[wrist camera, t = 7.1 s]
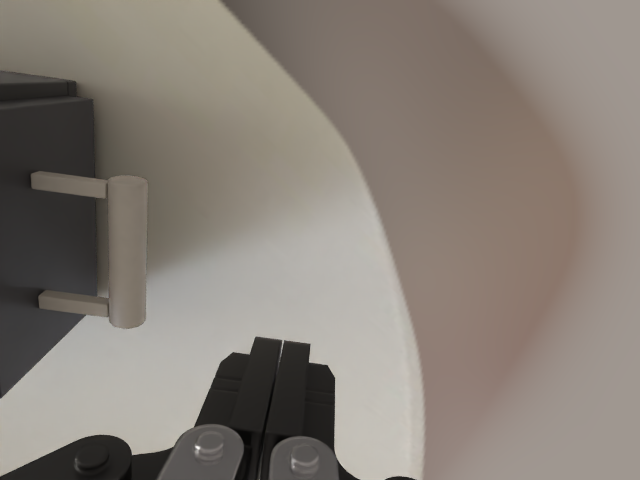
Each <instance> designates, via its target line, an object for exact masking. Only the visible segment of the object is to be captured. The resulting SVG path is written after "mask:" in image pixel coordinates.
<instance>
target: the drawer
mask: <svg viewBox="0 0 640 480" xmlns="http://www.w3.org/2000/svg"><path fill="white" fill-rule="evenodd" d="M95 197H96V198H104V199H106V198H108V260H109V298H104V297H97V262H96V213H95ZM147 207H148V182H147V180H146V179H144V178H141V177H137V176H127V175H122V176H114V177H110V178H109V179H108V180H103V179H95V164H94V115H93V99H89V98H82V97H75V96H56V97H44V98H32V99H20V100H8V101H0V398H2V397H3V396H4V395H5V394H6V393H7V392H8V391H9V390H10V389H11V388H12V387H13V386H14V385H15V384H16V383H17V382H18V381H19V380H20V379H21V378H22V377H23V376H24V375H25V374H27V373H28V372H29V371H30V370H31V369H32V368H33V367H34V366H35V365H36V364H37V363H38V362H39V361H40V360H41V359H42V358H43V357H44V356H45V355H46V354H47V353H48V352H49V351H50V350H51V349H52V348H53V347H54V346H55V345H56V344H57V343H58V342H59V341H60V340H61V339H62V338H63V337H64V336H65V335H66V334H67V333H68V332H69V331H70V330H71V329H72V328H73V327H74V326H75V325H76V324H77V323H78V322H79V321H80V320H81V319H83V318H84V317H85V316H86V315H93V316H101V317H108V316H109V322H110V323H111V325H112V326H114V327H117V328H122V329H129V328H135V327H138V326H140V325H142V324H143V323H144V321H145V319H146V268H147Z"/></svg>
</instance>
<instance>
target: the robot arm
mask: <svg viewBox="0 0 640 480" xmlns="http://www.w3.org/2000/svg"><path fill="white" fill-rule="evenodd" d="M281 348H282V340H278V339H270V338H263V337H255V340H254V343H253V346H252V349H251V352H250V355H249V354H242V353H235V352H233V353H232V354H230V355H229V356H228V357H227V358H225V359H224V360H223V361H222V362H221V363H220V365H219V368H218V370H217V372H216V375H215V378H214V380H213V382H212V385H211V388H210V389H209V392H208V394H207V397H206V399H205V402H204V404H203V406H202V409H201V411H200V414H199V416H198V419H197V421H196V423H195V426H194V428H191V429H190V430H188V431H186V432H185V433H183V434H182V435H181V436H180V437H179V439H178V440H177V442H176V444H175V445H174V447H172V448H170V449H167V450H164V451H160V452H155V453H147V454H138V455H132V452H131V449H130V447H129V445H128V444H127V443H126V442H125V441H124V440H122V439H120V438H118V437H115V436H110V435H94V436H89V437H85V438H82V439H79V440H77V441H75V442H73V443H70V444H68V445H66V446H64V447H62V448H60V449H58V450H56V451H53V452H51V453H49V454H47V455H45V456H43V457H41V458H39V459H37V460H34V461H32V462H30V463H28V464H26V465H24V466H22V467H20V468H18V469H15V470H13V471H11V472H9V473H7V474H5V475H3V476H1V477H0V480H259V479H260V480H359V479H357V478H355V477H354V476H352V475H351V474H349V473H348V472H347V471H346V470H345V469H344V468H343V467H342V466H341V464H340V463H339V462H338V460H337V458H336V455H335V450H334V424H335V377H334V375H333V374H332V372H331V370H330V369H329V367H328V365H322V364H315V363H309V354H310V344H307V343H300V342H293V341H286V340H284V344H283V349H282V354H281ZM280 356H281V359H280ZM385 480H415V479H412V478H409V477H402V476H397V477H390V478H387V479H385Z"/></svg>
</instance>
